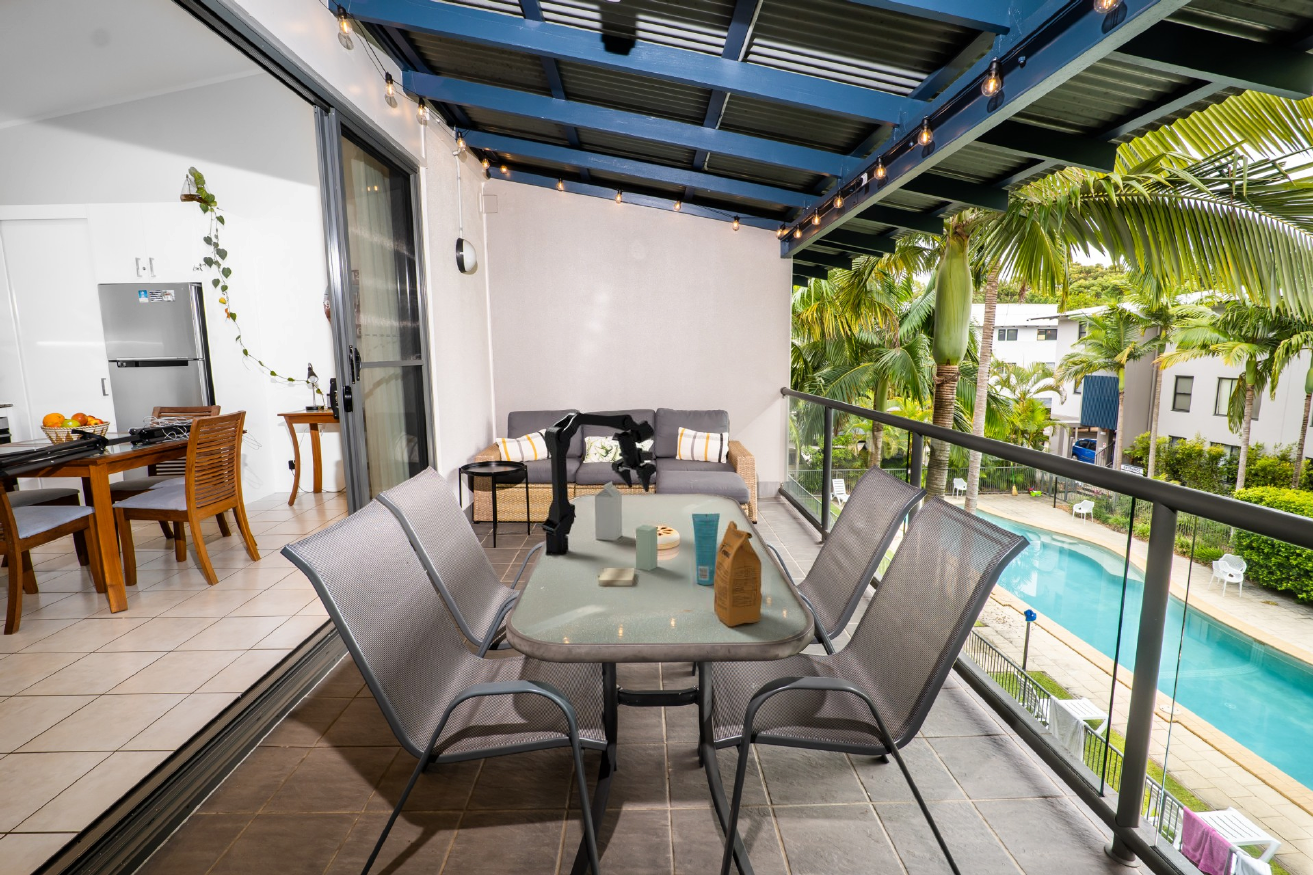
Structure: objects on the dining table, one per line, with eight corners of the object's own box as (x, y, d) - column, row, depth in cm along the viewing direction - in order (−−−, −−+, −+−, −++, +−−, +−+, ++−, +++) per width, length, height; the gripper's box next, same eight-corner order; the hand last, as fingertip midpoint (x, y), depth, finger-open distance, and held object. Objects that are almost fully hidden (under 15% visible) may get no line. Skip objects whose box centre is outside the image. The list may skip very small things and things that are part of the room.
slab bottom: (604, 592, 160) (604, 586, 160) (597, 580, 168) (597, 575, 168) (637, 588, 162) (637, 583, 162) (629, 577, 171) (629, 572, 171)
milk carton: (595, 539, 205) (594, 484, 203) (603, 533, 212) (602, 480, 210) (614, 541, 203) (614, 485, 201) (622, 535, 210) (621, 481, 208)
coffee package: (747, 604, 149) (749, 518, 147) (765, 626, 137) (767, 531, 135) (708, 607, 148) (709, 520, 145) (723, 629, 136) (724, 534, 133)
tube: (716, 578, 168) (717, 510, 165) (721, 584, 163) (721, 515, 161) (690, 580, 166) (690, 512, 164) (694, 586, 162) (694, 516, 159)
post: (636, 570, 174) (635, 528, 173) (644, 566, 178) (644, 524, 177) (649, 573, 172) (649, 530, 171) (657, 568, 176) (657, 526, 174)
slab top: (598, 585, 161) (598, 579, 161) (602, 573, 170) (602, 568, 170) (632, 585, 161) (632, 579, 160) (634, 573, 170) (634, 568, 169)
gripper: (663, 442, 205) (673, 484, 209) (629, 437, 219) (639, 476, 223) (638, 455, 198) (649, 497, 203) (605, 449, 212) (616, 489, 217)
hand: (639, 489), depth 212 cm, fingers open, 9 cm apart
